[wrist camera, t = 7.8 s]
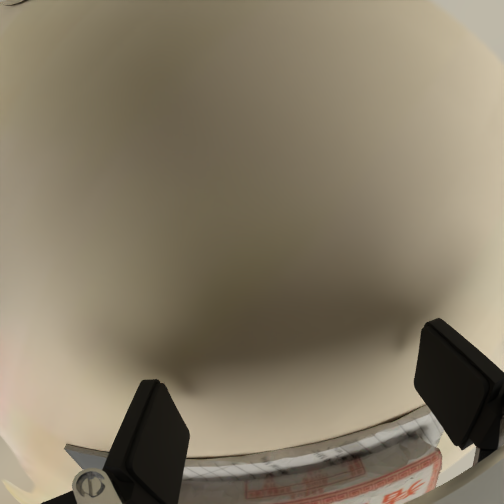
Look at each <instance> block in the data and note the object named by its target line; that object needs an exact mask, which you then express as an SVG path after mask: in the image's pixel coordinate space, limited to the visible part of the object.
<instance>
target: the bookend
mask: <svg viewBox="0 0 504 504" xmlns="http://www.w3.org/2000/svg"><path fill="white" fill-rule="evenodd" d="M64 449H65V450H66V452H67V453H68V454H69V455H70V456H71V457H72V458H73V459H74V460H75V461H76V462H77V463H78V465H79V466H80V467H81V468H82V469H83V470H84V469H88V468H98V469H101V470H102V469H103V467H104V464H105V461H106V459H107V457H108V454H109V453H108V452H102V451H96V450H91V449H86V448H81V447H76V446H72V445H68V444H66V446H65V448H64Z"/></svg>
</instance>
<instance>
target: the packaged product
mask: <svg viewBox="0 0 504 504" xmlns="http://www.w3.org/2000/svg"><path fill="white" fill-rule="evenodd" d="M443 431H444V429H443V428H442V426H441V425H440V423H439V422H438V420H437V419H436V417H435V416H434V414H433V413H432V412H431V410H430V409H429V407H428V406H427V405H424V406H422V407H421V408H419V409H417V410H415V411H413V412H411V413H410V414H408V415H406V416H404V417H402V418H400V419H398V420H396V421H394V422H390V423H386V424H381V425H378V426H375V427H372V428H369V429H366V430H363V431H360V432H356V433H353V434H349V435H346V436H342V437H339V438H335V439H331V440H327V441H323V442H319V443H315V444H310V445H304V446H298V447H292V448H285V449H280V450H275V451H267V452H262V453H256V454H251V455H245V456H235V457H223V458H213V459H200V460H199V459H186V460H185V466H184V472H183V477H182V483H181V489H180V495H179V500H178V504H403V503H406V502H408V501H410V500H413V499H415V498H417V497H419V496H421V495H423V494H425V493H427V492H429V491H431V490H433V489H435V488H436V483H437V480H438V475H439V473H440V470H441V469H442V454H441V452H440V450H439V449H438V448H436V447H437V445H438V443H439V440H440V438H441V435H442V433H443Z"/></svg>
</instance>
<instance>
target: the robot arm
mask: <svg viewBox="0 0 504 504" xmlns="http://www.w3.org/2000/svg"><path fill="white" fill-rule="evenodd" d="M21 1H23V0H0V3H2V4H3V5H12V4H16V3H19V2H21ZM414 387H415V389H416V391H417V392H418V393H419V395H420V396H421V397H422V399H423V400H424V402H425V403H426V404H427V406H428V407H429V409H430V410H431V412H432V413H433V414H434V416H435V417H436V419H437V420H438V422H439V423H440V425H441V426H442V428H443V429H444V430H445V432H446V433H447V435H448V436H449V438H450V439H451V441H452V442H453V444H454V445H455V446H459V447H460V448H461V450H464V449H465V448H467V447H468V446H470V445H471V444H473V443H474V444H475V446H476V452H475V457H474V462H473V466H472V467H471V468H469V469H468V470H466V471H465V472H463V473H461V474H460V475H458V476H457V477H455V478H453V479H452V480H450V481H448V482H446V483H444V484H443V485H441V486H439V487H437V488H435V489H433V490H431V491H429V492H427V493H425V494H423V495H421V496H419V497H417V498H415V499H413V500H410V501H408V502H406V503H403V504H504V372H503V371H502V370H500V369H499V368H498V367H497V366H496V365H495V364H494V363H493V362H492V361H491V360H489V359H488V358H487V357H486V356H485V355H484V354H483V353H481V352H480V351H479V350H478V349H477V348H476V347H475V346H473V345H472V344H471V343H470V342H469V341H468V340H466V339H465V338H464V337H463V336H462V335H460V334H459V333H458V332H457V331H456V330H454V329H453V328H452V327H451V326H450V325H448V324H447V323H446V322H445V321H443V320H442V319H440V318H437V319H434V320H432V321H429V322H427V323H426V324H425V326H424V328H422V331H421V338H420V346H419V354H418V360H417V366H416V372H415V378H414ZM189 439H190V434H189V430H188V428H187V426H186V424H185V423H184V421H183V419H182V417H181V415H180V413H179V411H178V410H177V408H176V406H175V404H174V402H173V400H172V398H171V396H170V394H169V392H168V390H167V388H166V386H165V384H164V383H160V381H159V380H157V379H154V380H142V381H141V383H140V385H139V387H138V389H137V391H136V393H135V396H134V398H133V400H132V402H131V404H130V406H129V409H128V411H127V413H126V415H125V417H124V420H123V422H122V424H121V426H120V429H119V431H118V433H117V436H116V438H115V440H114V442H113V445H112V447H111V449H110V452H109V454H108V457H107V459H106V461H105V464H104V467H103V469H102V470H101V469H98V468H88V469H84V470H82V471H81V472H79V473H78V474H77V475H76V476H75V478H74V480H73V484H72V488H73V491H70V492H68V493H66V494H63V495H61V496H58V497H56V498H53V499H51V500H48V501H46V502H43V503H41V504H178V500H179V495H180V489H181V483H182V477H183V472H184V466H185V460H186V455H187V450H188V444H189Z"/></svg>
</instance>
